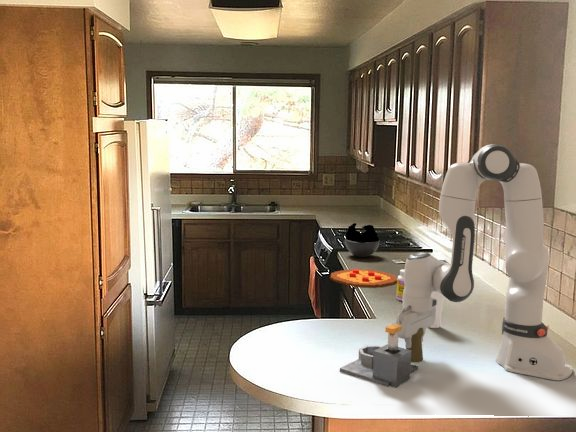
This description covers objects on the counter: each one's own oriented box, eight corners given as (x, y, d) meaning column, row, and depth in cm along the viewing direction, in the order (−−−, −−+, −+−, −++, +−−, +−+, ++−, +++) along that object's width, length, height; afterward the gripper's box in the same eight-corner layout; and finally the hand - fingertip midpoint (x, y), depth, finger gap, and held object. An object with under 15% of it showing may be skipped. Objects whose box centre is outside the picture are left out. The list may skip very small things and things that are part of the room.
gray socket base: (424, 371, 193) (425, 342, 192) (394, 388, 179) (395, 358, 178) (370, 355, 205) (371, 328, 204) (338, 370, 191) (339, 342, 190)
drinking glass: (427, 322, 241) (429, 284, 239) (444, 325, 238) (446, 287, 236) (421, 327, 235) (423, 288, 233) (438, 330, 232) (441, 291, 230)
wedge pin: (400, 356, 185) (402, 325, 184) (392, 360, 182) (394, 329, 180) (392, 353, 187) (393, 323, 186) (383, 358, 184) (385, 327, 182)
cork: (409, 354, 207) (411, 321, 206) (426, 358, 203) (428, 325, 202) (400, 359, 203) (402, 326, 201) (417, 363, 199) (419, 330, 197)
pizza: (394, 273, 323) (394, 267, 323) (398, 289, 292) (398, 282, 291) (332, 270, 326) (332, 265, 326) (329, 286, 295) (329, 279, 295)
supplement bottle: (395, 300, 271) (397, 271, 269) (396, 296, 277) (398, 268, 276) (411, 302, 269) (412, 272, 268) (412, 298, 276) (413, 269, 274)
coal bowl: (384, 260, 354) (385, 227, 351) (350, 260, 350) (351, 227, 347) (372, 252, 373) (373, 221, 371) (339, 253, 369) (340, 222, 366)
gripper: (409, 312, 190) (406, 355, 192) (440, 298, 206) (437, 339, 208) (391, 307, 194) (389, 350, 196) (422, 295, 210) (420, 335, 212)
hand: (414, 344), depth 202 cm, fingers open, 5 cm apart
